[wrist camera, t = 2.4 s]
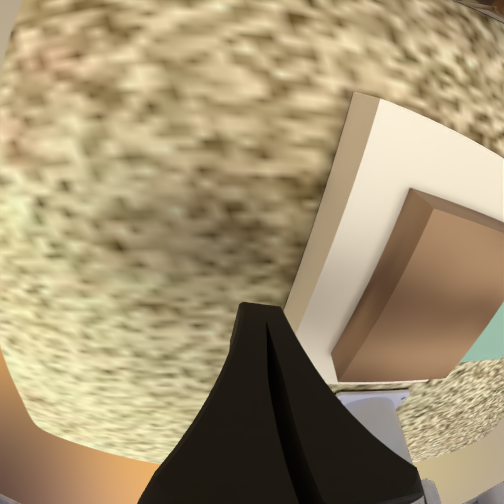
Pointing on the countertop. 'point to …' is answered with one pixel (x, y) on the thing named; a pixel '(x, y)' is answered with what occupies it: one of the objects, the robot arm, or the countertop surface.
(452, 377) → the countertop surface
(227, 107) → the countertop surface
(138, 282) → the countertop surface
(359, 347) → the walnut coaster
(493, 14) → the coffee box
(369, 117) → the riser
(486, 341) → the sage mat
